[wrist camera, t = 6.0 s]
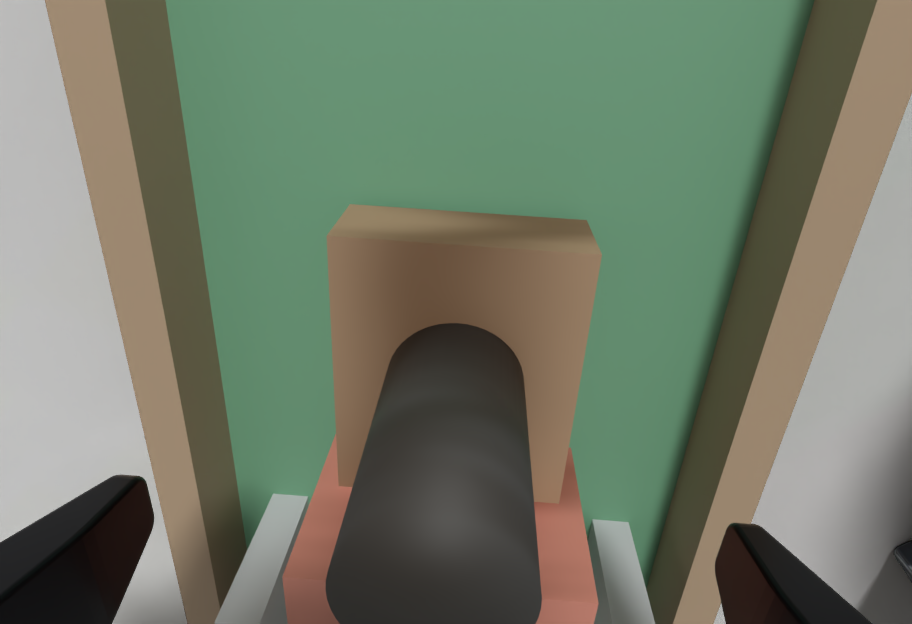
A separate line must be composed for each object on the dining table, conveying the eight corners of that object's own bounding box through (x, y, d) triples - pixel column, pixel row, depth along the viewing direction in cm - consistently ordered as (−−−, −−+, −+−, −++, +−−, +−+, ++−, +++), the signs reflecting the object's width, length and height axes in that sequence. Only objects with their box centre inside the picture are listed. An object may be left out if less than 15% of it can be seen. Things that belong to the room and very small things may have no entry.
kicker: (610, 221, 13) (725, 430, 6) (562, 494, 16) (607, 805, 10) (326, 202, 13) (166, 387, 6) (339, 477, 16) (242, 771, 10)
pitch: (1047, -669, 8) (1732, -1508, 4) (649, 634, 20) (693, 810, 16) (26, -698, 8) (-498, -1490, 4) (240, 599, 21) (170, 762, 16)
